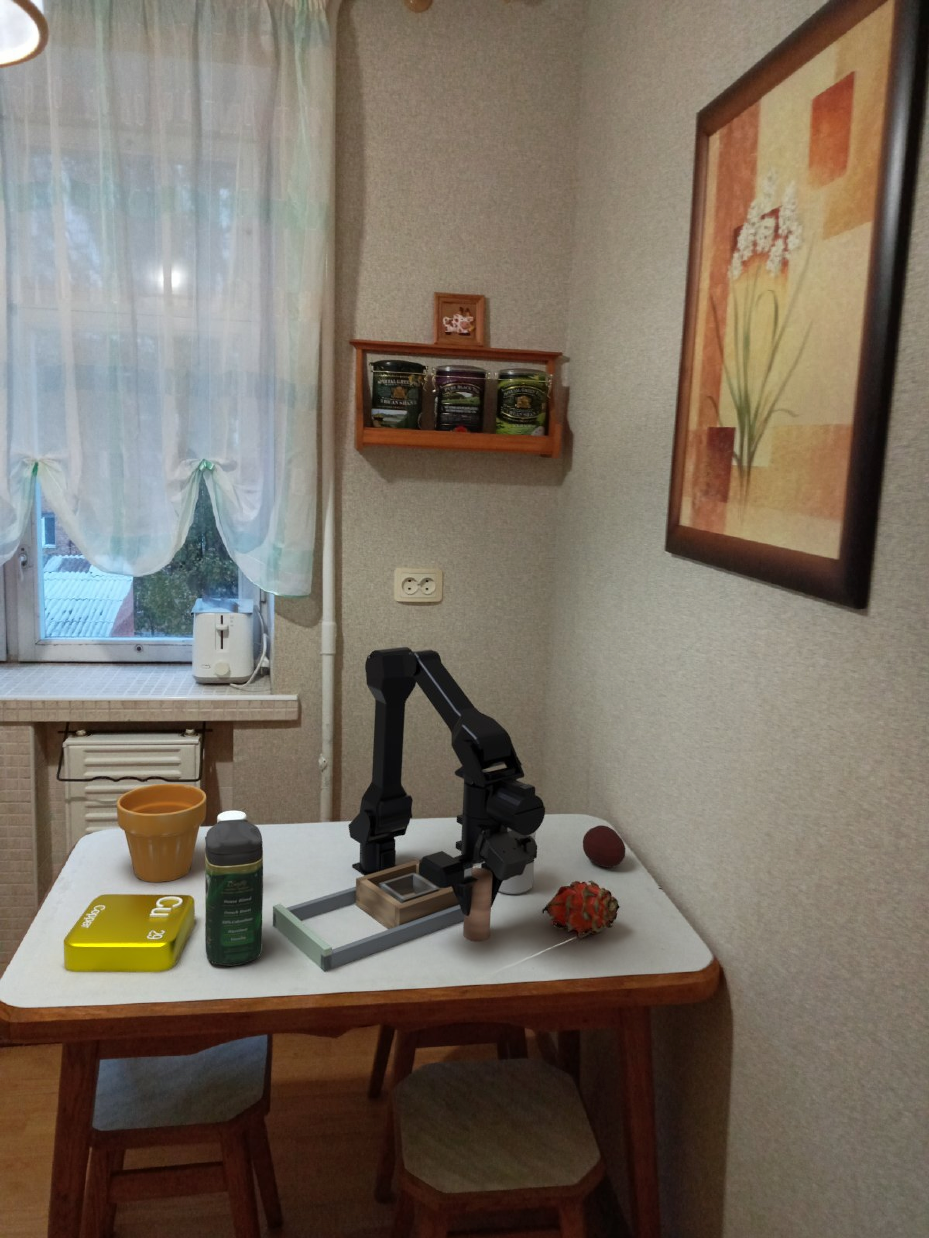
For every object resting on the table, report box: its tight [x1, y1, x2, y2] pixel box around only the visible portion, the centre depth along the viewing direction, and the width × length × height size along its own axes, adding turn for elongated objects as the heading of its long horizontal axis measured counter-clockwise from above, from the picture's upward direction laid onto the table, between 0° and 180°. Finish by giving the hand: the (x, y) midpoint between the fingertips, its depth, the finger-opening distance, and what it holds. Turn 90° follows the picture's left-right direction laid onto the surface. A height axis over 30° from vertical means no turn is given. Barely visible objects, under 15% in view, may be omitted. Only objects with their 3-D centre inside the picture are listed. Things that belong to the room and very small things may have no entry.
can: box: [498, 828, 537, 895], centre depth 149 cm, size 8×8×12 cm
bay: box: [272, 886, 464, 972], centre depth 136 cm, size 15×27×4 cm, turn 129°
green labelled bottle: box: [204, 819, 264, 967], centre depth 126 cm, size 10×8×19 cm
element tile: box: [62, 893, 196, 973], centre depth 128 cm, size 15×15×5 cm
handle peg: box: [462, 867, 493, 943], centre depth 133 cm, size 4×4×10 cm
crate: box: [355, 859, 459, 930], centre depth 140 cm, size 12×12×4 cm
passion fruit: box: [582, 824, 626, 868], centre depth 160 cm, size 7×8×7 cm
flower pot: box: [116, 783, 207, 883], centre depth 150 cm, size 14×14×13 cm
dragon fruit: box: [541, 880, 621, 939], centre depth 136 cm, size 8×8×12 cm
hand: (477, 910), depth 133 cm, fingers closed on handle peg, 4 cm apart
